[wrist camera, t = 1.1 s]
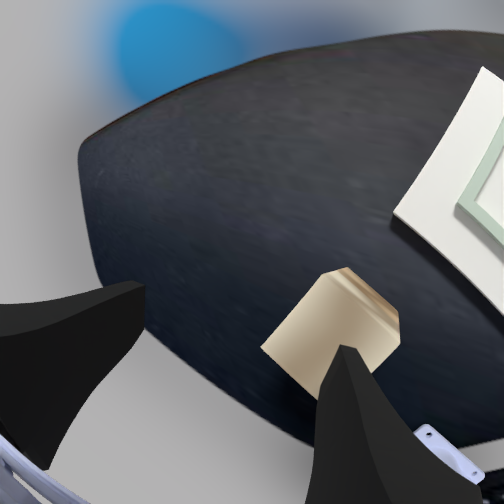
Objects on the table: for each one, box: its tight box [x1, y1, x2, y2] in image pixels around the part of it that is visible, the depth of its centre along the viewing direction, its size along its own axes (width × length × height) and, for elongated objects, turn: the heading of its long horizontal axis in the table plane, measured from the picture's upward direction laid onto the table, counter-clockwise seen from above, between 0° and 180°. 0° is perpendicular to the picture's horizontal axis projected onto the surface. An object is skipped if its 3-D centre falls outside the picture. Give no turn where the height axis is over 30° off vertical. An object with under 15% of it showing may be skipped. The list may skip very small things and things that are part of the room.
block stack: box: [261, 267, 400, 400], centre depth 16 cm, size 5×5×8 cm
